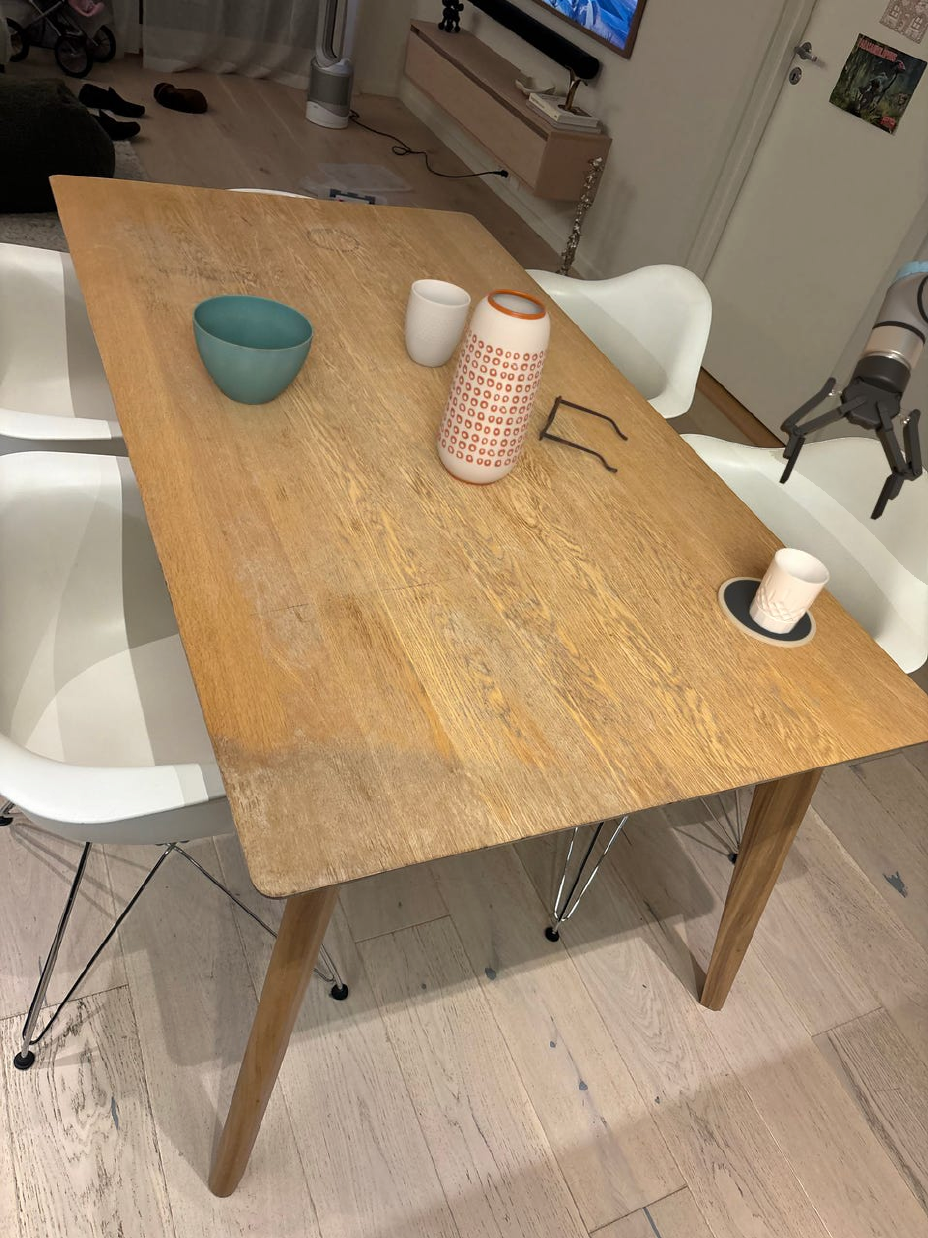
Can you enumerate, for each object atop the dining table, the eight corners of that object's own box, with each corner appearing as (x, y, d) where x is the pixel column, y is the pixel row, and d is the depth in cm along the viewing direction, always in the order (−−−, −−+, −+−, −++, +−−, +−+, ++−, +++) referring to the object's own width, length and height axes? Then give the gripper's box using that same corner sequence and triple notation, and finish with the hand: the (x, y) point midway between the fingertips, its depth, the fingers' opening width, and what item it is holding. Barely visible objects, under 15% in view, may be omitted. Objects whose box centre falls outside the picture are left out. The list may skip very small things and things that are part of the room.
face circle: (832, 626, 137) (834, 623, 136) (782, 661, 128) (784, 658, 127) (750, 568, 144) (752, 565, 143) (698, 598, 134) (699, 595, 134)
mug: (384, 334, 176) (396, 267, 168) (436, 336, 181) (451, 271, 172) (409, 372, 167) (423, 304, 158) (464, 374, 171) (480, 307, 163)
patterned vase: (527, 476, 149) (580, 311, 131) (481, 504, 140) (531, 331, 122) (462, 438, 153) (505, 274, 135) (413, 463, 144) (453, 290, 126)
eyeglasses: (551, 411, 168) (558, 387, 165) (627, 438, 167) (637, 414, 164) (534, 447, 157) (543, 421, 154) (617, 475, 156) (627, 450, 153)
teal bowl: (310, 425, 145) (320, 354, 138) (190, 416, 140) (193, 341, 132) (299, 370, 158) (307, 302, 150) (189, 359, 152) (191, 287, 144)
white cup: (807, 629, 134) (840, 577, 127) (773, 642, 129) (806, 589, 123) (767, 595, 138) (798, 543, 131) (734, 607, 134) (763, 554, 127)
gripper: (958, 407, 134) (904, 538, 132) (795, 347, 138) (740, 473, 136) (982, 388, 127) (925, 526, 125) (809, 324, 130) (751, 457, 129)
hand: (829, 498), depth 130 cm, fingers open, 13 cm apart
